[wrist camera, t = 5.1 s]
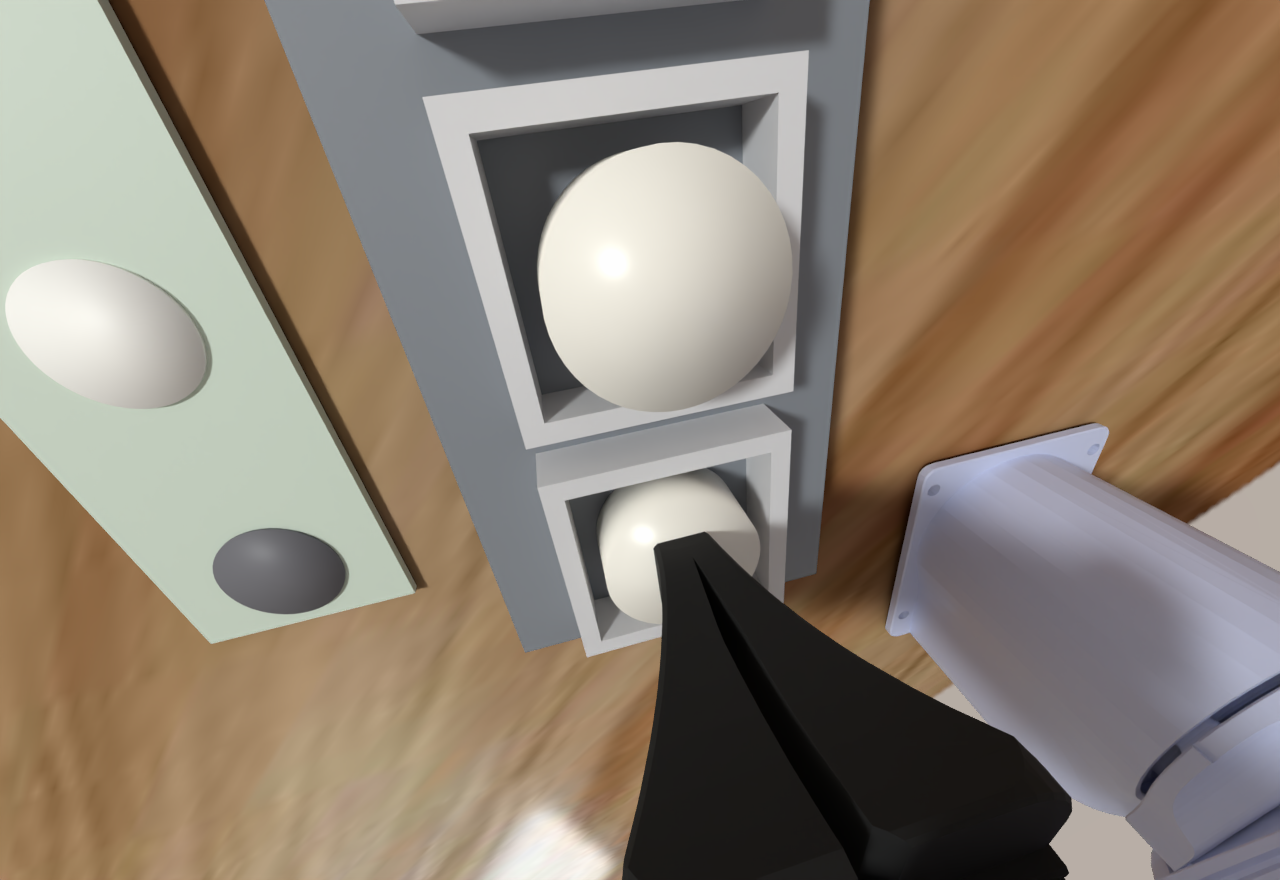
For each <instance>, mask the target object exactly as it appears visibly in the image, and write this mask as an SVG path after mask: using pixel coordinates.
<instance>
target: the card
mask: <svg viewBox="0 0 1280 880" xmlns="http://www.w3.org/2000/svg"><path fill="white" fill-rule="evenodd" d="M0 418H1V419H2V420H3V421H4V422H5V423H6V424H7V425H8V427H9V428H10V429H11V430H12V431H13V432H14V433H15V434H16V435H17V436H18V437H19V438H20V439H21V440H22V442H23V443H24V444H25V445H26V446H27V447H28V448H29V449H30V450H31V451H32V452H33V453H34V454H35V455H36V457H37V458H38V459H39V460H40V461H41V462H42V463H43V464H44V465H45V466H46V467H47V468H48V469H49V471H50V472H51V473H52V474H53V475H54V476H55V477H56V478H57V479H58V480H59V481H60V482H61V483H62V484H63V486H64V487H65V488H66V489H67V490H68V491H69V492H70V493H71V494H72V495H73V496H74V497H75V498H76V499H77V501H78V502H79V503H80V504H81V505H82V506H83V507H84V508H85V509H86V510H87V511H88V512H89V513H90V515H91V516H92V517H93V518H94V519H95V520H96V521H97V522H98V523H99V524H100V525H101V526H102V527H103V528H104V530H105V531H106V532H107V533H108V534H109V535H110V536H111V537H112V538H113V539H114V540H115V541H116V542H117V543H118V545H119V546H120V547H121V548H122V549H123V550H124V551H125V552H126V553H127V554H128V555H129V556H130V557H131V559H132V560H133V561H134V562H135V563H136V564H137V565H138V566H139V567H140V568H141V569H142V570H143V571H144V572H145V574H146V575H147V576H148V577H149V578H150V579H151V580H152V581H153V582H154V583H155V584H156V585H157V586H158V587H159V589H160V590H161V591H162V592H163V593H164V594H165V595H166V596H167V597H168V598H169V599H170V600H171V601H172V603H173V604H174V605H175V606H176V607H177V608H178V609H179V610H180V611H181V612H182V613H183V614H184V615H185V616H186V618H187V619H188V620H189V621H190V622H191V623H192V624H193V625H194V626H195V627H196V628H197V629H198V630H199V632H200V633H201V634H202V635H203V636H204V637H205V638H206V639H207V640H208V641H209V642H210V643H211V644H212V643H216V642H220V641H224V640H228V639H233V638H237V637H241V636H245V635H249V634H253V633H257V632H261V631H265V630H269V629H273V628H277V627H281V626H285V625H289V624H293V623H297V622H301V621H305V620H309V619H313V618H317V617H321V616H325V615H329V614H333V613H337V612H341V611H345V610H349V609H353V608H357V607H361V606H365V605H369V604H373V603H377V602H381V601H385V600H389V599H393V598H397V597H401V596H405V595H409V594H413V593H415V591H416V587H417V585H416V584H415V582H414V580H413V578H412V576H411V574H410V572H409V570H408V568H407V566H406V565H405V563H404V561H403V559H402V557H401V555H400V553H399V551H398V549H397V547H396V546H395V544H394V542H393V540H392V538H391V536H390V534H389V532H388V530H387V528H386V527H385V525H384V523H383V521H382V519H381V517H380V515H379V513H378V511H377V510H376V508H375V506H374V504H373V502H372V500H371V498H370V496H369V494H368V492H367V491H366V489H365V487H364V485H363V483H362V481H361V479H360V477H359V475H358V473H357V472H356V470H355V468H354V466H353V464H352V462H351V460H350V458H349V456H348V455H347V453H346V451H345V449H344V447H343V445H342V443H341V441H340V439H339V437H338V436H337V434H336V432H335V430H334V428H333V426H332V424H331V422H330V420H329V418H328V417H327V415H326V413H325V411H324V409H323V407H322V405H321V403H320V401H319V399H318V398H317V396H316V394H315V392H314V390H313V388H312V386H311V384H310V382H309V381H308V379H307V377H306V375H305V373H304V371H303V369H302V367H301V365H300V363H299V362H298V360H297V358H296V356H295V354H294V352H293V350H292V348H291V346H290V344H289V343H288V341H287V339H286V337H285V335H284V333H283V331H282V329H281V327H280V325H279V324H278V322H277V320H276V318H275V316H274V314H273V312H272V310H271V308H270V307H269V305H268V303H267V301H266V299H265V297H264V295H263V293H262V291H261V289H260V288H259V286H258V284H257V282H256V280H255V278H254V276H253V274H252V272H251V270H250V269H249V267H248V265H247V263H246V261H245V259H244V257H243V255H242V253H241V252H240V250H239V248H238V246H237V244H236V242H235V240H234V238H233V236H232V234H231V233H230V231H229V229H228V227H227V225H226V223H225V221H224V219H223V217H222V215H221V214H220V212H219V210H218V208H217V206H216V204H215V202H214V200H213V198H212V196H211V195H210V193H209V191H208V189H207V187H206V185H205V183H204V181H203V179H202V178H201V176H200V174H199V172H198V170H197V168H196V166H195V164H194V162H193V160H192V159H191V157H190V155H189V153H188V151H187V149H186V147H185V145H184V143H183V141H182V140H181V138H180V136H179V134H178V132H177V130H176V128H175V126H174V124H173V123H172V121H171V119H170V117H169V115H168V113H167V111H166V109H165V107H164V105H163V104H162V102H161V100H160V98H159V96H158V94H157V92H156V90H155V88H154V86H153V85H152V83H151V81H150V79H149V77H148V75H147V73H146V71H145V69H144V67H143V66H142V64H141V62H140V60H139V58H138V56H137V54H136V52H135V50H134V49H133V47H132V45H131V43H130V41H129V39H128V37H127V35H126V33H125V31H124V30H123V28H122V26H121V24H120V22H119V20H118V18H117V16H116V14H115V12H114V11H113V9H112V7H111V5H110V3H109V1H108V0H0Z"/></svg>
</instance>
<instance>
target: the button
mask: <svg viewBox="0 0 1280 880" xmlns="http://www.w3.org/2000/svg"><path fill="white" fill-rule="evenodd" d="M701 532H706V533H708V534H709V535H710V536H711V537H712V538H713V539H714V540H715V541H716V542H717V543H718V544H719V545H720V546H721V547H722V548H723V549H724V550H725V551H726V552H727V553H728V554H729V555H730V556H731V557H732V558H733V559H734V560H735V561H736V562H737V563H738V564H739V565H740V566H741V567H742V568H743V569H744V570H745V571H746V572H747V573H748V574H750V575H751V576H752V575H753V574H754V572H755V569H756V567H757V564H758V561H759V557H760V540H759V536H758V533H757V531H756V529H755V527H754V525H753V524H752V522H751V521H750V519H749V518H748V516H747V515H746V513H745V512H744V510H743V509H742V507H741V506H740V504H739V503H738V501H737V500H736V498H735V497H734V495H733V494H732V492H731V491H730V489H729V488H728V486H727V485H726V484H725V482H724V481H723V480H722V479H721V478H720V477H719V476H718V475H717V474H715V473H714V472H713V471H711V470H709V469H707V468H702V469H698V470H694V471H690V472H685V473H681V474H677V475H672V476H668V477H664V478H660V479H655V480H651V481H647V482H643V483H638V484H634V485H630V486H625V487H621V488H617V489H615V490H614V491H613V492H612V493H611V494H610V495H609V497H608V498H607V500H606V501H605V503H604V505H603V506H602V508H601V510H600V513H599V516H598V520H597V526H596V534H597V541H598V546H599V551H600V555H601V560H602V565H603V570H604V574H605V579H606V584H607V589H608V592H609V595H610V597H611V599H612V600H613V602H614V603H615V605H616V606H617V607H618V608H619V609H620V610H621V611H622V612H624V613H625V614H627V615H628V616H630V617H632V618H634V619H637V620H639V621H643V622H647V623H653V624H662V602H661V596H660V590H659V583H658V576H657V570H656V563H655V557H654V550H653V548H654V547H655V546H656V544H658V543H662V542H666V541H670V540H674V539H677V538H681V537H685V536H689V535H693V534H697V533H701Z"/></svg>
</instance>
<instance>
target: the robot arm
mask: <svg viewBox="0 0 1280 880" xmlns="http://www.w3.org/2000/svg"><path fill="white" fill-rule="evenodd" d="M1108 434H1109V430H1108V428H1107V427H1105V426H1103V425H1101V424H1098V423H1093V424H1089V425H1085V426H1081V427H1077V428H1073V429H1069V430H1065V431H1061V432H1057V433H1052V434H1048V435H1044V436H1040V437H1036V438H1032V439H1028V440H1024V441H1020V442H1016V443H1012V444H1008V445H1004V446H1000V447H996V448H992V449H988V450H984V451H980V452H976V453H972V454H968V455H964V456H960V457H956V458H952V459H948V460H944V461H940V462H936V463H932V464H929V465H927V466H925V467H924V468H923V469H922V470H921V471H920V472H919V475H918V478H917V482H916V487H915V492H914V496H913V501H912V505H911V510H910V515H909V519H908V524H907V529H906V533H905V538H904V542H903V547H902V552H901V556H900V561H899V566H898V570H897V575H896V579H895V584H894V589H893V593H892V598H891V602H890V607H889V612H888V616H887V621H886V626H885V628H886V630H887V631H888V632H889V634H890V635H891V636H900V635H903V634H907V633H911V634H912V636H913V637H914V638H915V639H916V640H917V641H918V643H919V644H920V645H921V646H922V647H923V648H924V650H925V651H926V652H927V653H928V654H929V655H930V657H931V658H932V659H933V660H934V661H935V662H936V664H937V665H938V666H939V667H940V668H941V669H942V671H943V672H944V673H945V674H946V675H947V676H948V678H949V679H950V680H951V681H952V682H953V683H954V685H955V686H956V687H957V688H958V689H959V691H960V692H961V693H962V694H963V695H964V696H965V698H966V699H967V700H968V701H969V702H970V703H971V705H972V706H973V707H974V708H975V709H976V710H977V712H978V713H979V714H980V715H981V716H982V717H983V718H984V720H985V721H986V722H987V723H988V724H989V725H988V724H986V723H984V722H981V721H979V720H977V719H975V718H973V717H970V716H968V715H966V714H964V713H962V712H959V711H957V710H955V709H953V708H951V707H949V706H947V705H945V704H943V703H941V702H939V701H937V700H935V699H933V698H931V697H929V696H928V695H926V694H924V693H922V692H920V691H918V690H916V689H914V688H912V687H910V686H909V685H907V684H905V683H903V682H902V681H900V680H898V679H896V678H895V677H893V676H891V675H889V674H888V673H886V672H884V671H882V670H881V669H879V668H877V667H875V666H874V665H872V664H870V663H868V662H867V661H865V660H863V659H862V658H860V657H858V656H857V655H855V654H854V653H852V652H851V651H849V650H848V649H846V648H844V647H843V646H841V645H840V644H838V643H837V642H835V641H834V640H832V639H831V638H829V637H828V636H826V635H825V634H824V633H822V632H821V631H819V630H818V629H816V628H815V627H814V626H812V625H811V624H809V623H808V622H807V621H805V620H804V619H803V618H801V617H800V616H799V615H797V614H796V613H795V612H794V611H792V610H791V609H790V608H789V607H787V606H786V605H785V604H783V603H782V602H781V601H780V600H779V599H777V598H776V597H775V596H774V595H773V594H771V593H770V592H769V591H768V590H767V589H766V588H764V587H763V586H762V585H761V584H760V583H759V582H758V581H756V580H755V579H754V578H753V577H752V576H751V575H750V574H748V573H747V572H746V571H745V570H744V569H743V568H742V567H741V566H740V565H739V564H738V563H737V562H736V561H735V560H734V559H733V558H732V557H731V556H730V555H729V554H728V553H727V552H726V551H725V550H724V549H723V548H722V547H721V546H720V545H719V544H718V543H717V542H716V541H715V540H714V539H713V538H712V537H711V536H710V535H709V534H708V533H706V532H701V533H697V534H693V535H689V536H685V537H681V538H677V539H674V540H670V541H666V542H662V543H658V544H656V546H655V547H654V548H653V550H654V557H655V563H656V570H657V576H658V583H659V590H660V596H661V602H662V642H661V660H660V672H659V682H658V691H657V699H656V706H655V714H654V721H653V727H652V734H651V740H650V745H649V751H648V756H647V761H646V766H645V771H644V776H643V781H642V786H641V791H640V796H639V800H638V805H637V809H636V813H635V817H634V821H633V825H632V829H631V833H630V837H629V841H628V845H627V849H626V853H625V858H624V864H623V876H622V880H1065V878H1064V877H1066V876H1067V875H1068V874H1069V872H1068V869H1067V867H1066V865H1065V864H1064V863H1063V861H1062V860H1061V859H1060V858H1059V856H1058V855H1057V854H1056V852H1055V851H1054V850H1053V849H1052V847H1051V846H1050V845H1049V843H1050V842H1051V840H1052V839H1053V838H1054V837H1055V835H1056V834H1057V832H1058V831H1059V830H1060V829H1061V827H1062V826H1063V825H1064V823H1065V822H1066V821H1067V819H1068V818H1069V816H1070V814H1071V812H1072V802H1071V798H1073V799H1074V800H1076V801H1078V802H1080V803H1082V804H1084V805H1086V806H1089V807H1091V808H1094V809H1096V810H1099V811H1102V812H1105V813H1109V814H1113V815H1118V816H1123V817H1125V818H1126V821H1127V822H1128V823H1129V824H1130V825H1131V826H1132V827H1133V828H1134V829H1135V830H1136V831H1137V832H1138V833H1139V834H1140V836H1141V837H1142V838H1143V839H1144V840H1145V841H1146V842H1147V843H1148V844H1149V845H1150V846H1151V847H1152V848H1153V850H1152V852H1151V867H1152V871H1153V875H1154V879H1155V880H1280V572H1279V571H1277V570H1275V569H1273V568H1271V567H1269V566H1267V565H1265V564H1263V563H1261V562H1259V561H1257V560H1256V559H1254V558H1252V557H1250V556H1248V555H1246V554H1244V553H1242V552H1240V551H1238V550H1236V549H1234V548H1233V547H1230V546H1229V545H1227V544H1225V543H1223V542H1221V541H1219V540H1217V539H1215V538H1213V537H1211V536H1209V535H1207V534H1205V533H1204V532H1202V531H1199V530H1198V529H1196V528H1194V527H1192V526H1190V525H1188V524H1186V523H1184V522H1182V521H1181V520H1179V519H1177V518H1175V517H1173V516H1171V515H1169V514H1167V513H1165V512H1163V511H1161V510H1159V509H1157V508H1156V507H1154V506H1152V505H1150V504H1148V503H1146V502H1144V501H1142V500H1140V499H1138V498H1136V497H1134V496H1132V495H1130V494H1129V493H1127V492H1125V491H1123V490H1121V489H1119V488H1117V487H1115V486H1113V485H1111V484H1109V483H1107V482H1105V481H1104V480H1102V479H1100V478H1098V477H1096V476H1094V475H1092V474H1091V473H1092V471H1093V469H1094V467H1095V464H1096V462H1097V460H1098V458H1099V455H1100V453H1101V451H1102V449H1103V446H1104V444H1105V442H1106V440H1107V437H1108Z"/></svg>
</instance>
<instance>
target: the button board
mask: <svg viewBox="0 0 1280 880" xmlns="http://www.w3.org/2000/svg"><path fill="white" fill-rule="evenodd" d="M264 1H265V3H266V6H267V8H268V11H269V13H270V16H271V18H272V21H273V23H274V26H275V28H276V31H277V33H278V36H279V38H280V41H281V43H282V46H283V48H284V51H285V53H286V56H287V58H288V61H289V63H290V66H291V68H292V71H293V73H294V76H295V78H296V81H297V83H298V86H299V88H300V91H301V93H302V96H303V98H304V101H305V103H306V106H307V108H308V111H309V113H310V116H311V118H312V121H313V123H314V126H315V128H316V131H317V133H318V136H319V138H320V141H321V143H322V146H323V148H324V151H325V153H326V156H327V158H328V161H329V163H330V166H331V168H332V171H333V173H334V176H335V178H336V181H337V183H338V186H339V188H340V191H341V193H342V196H343V198H344V201H345V203H346V206H347V208H348V211H349V213H350V216H351V218H352V221H353V223H354V226H355V228H356V231H357V233H358V236H359V238H360V241H361V243H362V246H363V248H364V251H365V253H366V256H367V258H368V261H369V263H370V266H371V268H372V271H373V273H374V276H375V278H376V281H377V283H378V286H379V288H380V291H381V293H382V296H383V298H384V301H385V303H386V306H387V308H388V311H389V313H390V316H391V318H392V321H393V323H394V326H395V328H396V331H397V333H398V336H399V338H400V341H401V343H402V346H403V348H404V351H405V353H406V356H407V358H408V361H409V363H410V366H411V368H412V371H413V373H414V376H415V378H416V381H417V383H418V386H419V388H420V391H421V393H422V396H423V398H424V401H425V403H426V406H427V408H428V411H429V413H430V416H431V418H432V421H433V423H434V426H435V428H436V431H437V433H438V436H439V438H440V441H441V443H442V446H443V448H444V451H445V453H446V456H447V458H448V461H449V463H450V466H451V468H452V471H453V473H454V476H455V478H456V481H457V483H458V486H459V488H460V491H461V493H462V496H463V498H464V501H465V503H466V506H467V508H468V511H469V513H470V516H471V518H472V521H473V523H474V526H475V528H476V531H477V533H478V536H479V538H480V541H481V543H482V546H483V548H484V551H485V553H486V556H487V558H488V561H489V563H490V566H491V568H492V571H493V573H494V576H495V578H496V581H497V583H498V586H499V588H500V591H501V593H502V596H503V598H504V601H505V603H506V606H507V608H508V611H509V613H510V616H511V618H512V621H513V623H514V626H515V628H516V631H517V633H518V636H519V638H520V641H521V643H522V646H523V648H524V651H525V653H526V652H530V651H533V650H537V649H541V648H544V647H548V646H552V645H555V644H559V643H563V642H566V641H570V640H574V639H577V638H582V642H583V645H584V648H585V652H586V655H587V657H590V656H593V655H597V654H600V653H604V652H608V651H611V650H615V649H618V648H622V647H626V646H629V645H633V644H636V643H640V642H644V641H647V640H651V639H654V638H658V637H662V624H653V623H647V622H643V621H639V620H637V619H634V618H632V617H630V616H628V615H627V614H625V613H624V612H622V611H621V610H620V609H619V608H618V607H617V606H616V605H615V603H614V602H613V600H612V599H611V597H610V595H609V592H608V589H607V584H606V579H605V574H604V570H603V565H602V560H601V555H600V551H599V546H598V541H597V534H596V526H597V520H598V516H599V513H600V510H601V508H602V506H603V505H604V503H605V501H606V500H607V498H608V497H609V495H610V494H611V493H612V492H613V491H614V490H615V489H617V488H621V487H625V486H630V485H634V484H638V483H643V482H647V481H651V480H655V479H660V478H664V477H668V476H672V475H677V474H681V473H685V472H690V471H694V470H698V469H702V468H707V469H709V470H711V471H713V472H714V473H715V474H717V475H718V476H719V477H720V478H721V479H722V480H723V481H724V482H725V484H726V485H727V486H728V488H729V489H730V491H731V492H732V494H733V495H734V497H735V498H736V500H737V501H738V503H739V504H740V506H741V507H742V509H743V510H744V512H745V513H746V515H747V516H748V518H749V519H750V521H751V522H752V524H753V525H754V527H755V529H756V531H757V533H758V536H759V540H760V557H759V561H758V564H757V567H756V569H755V572H754V574H753V575H752V577H753V578H754V579H755V580H756V581H758V582H759V583H760V584H761V585H762V586H763V587H764V588H766V589H767V590H768V591H769V592H770V593H771V594H773V595H774V596H775V597H776V598H777V599H779V600H780V601H781V602H782V603H784V585H785V582H787V581H791V580H794V579H798V578H802V577H805V576H809V575H813V574H816V570H817V560H818V549H819V538H820V527H821V517H822V506H823V495H824V484H825V474H826V463H827V452H828V442H829V431H830V420H831V409H832V399H833V388H834V377H835V367H836V356H837V345H838V334H839V324H840V313H841V302H842V292H843V281H844V270H845V259H846V249H847V238H848V227H849V216H850V206H851V195H852V184H853V174H854V163H855V152H856V141H857V131H858V120H859V109H860V99H861V88H862V77H863V66H864V56H865V45H866V34H867V23H868V13H869V2H870V0H264ZM670 142H683V143H693V144H699V145H703V146H706V147H710V148H714V149H716V150H718V151H721V152H723V153H725V154H727V155H729V156H731V157H733V158H734V159H736V160H737V161H739V162H740V163H742V164H743V165H745V166H746V167H747V168H748V169H749V170H751V171H752V172H753V173H754V174H755V175H756V176H757V177H758V178H759V179H760V180H761V181H762V183H763V184H764V185H765V186H766V188H767V189H768V190H769V191H770V193H771V195H772V196H773V198H774V200H775V201H776V203H777V205H778V206H779V209H780V211H781V214H782V216H783V218H784V221H785V223H786V227H787V231H788V234H789V238H790V244H791V251H792V283H791V291H790V296H789V301H788V305H787V309H786V312H785V315H784V318H783V321H782V323H781V325H780V328H779V330H778V332H777V334H776V336H775V338H774V340H773V341H772V343H771V345H770V346H769V348H768V350H767V351H766V353H765V354H764V355H763V357H762V358H761V359H760V361H759V362H758V363H757V364H756V365H755V366H754V368H753V369H752V370H751V371H750V372H749V373H748V374H747V375H746V376H745V377H744V378H742V379H741V380H740V381H739V382H738V383H737V384H735V385H734V386H733V387H731V388H730V389H728V390H727V391H725V392H724V393H722V394H721V395H719V396H717V397H715V398H713V399H711V400H709V401H707V402H704V403H702V404H699V405H697V406H694V407H690V408H686V409H683V410H676V411H670V412H646V411H638V410H633V409H628V408H624V407H622V406H619V405H616V404H613V403H611V402H609V401H607V400H605V399H603V398H601V397H599V396H598V395H596V394H595V393H593V392H592V391H591V390H589V389H588V388H586V387H585V386H584V385H583V384H582V383H581V382H580V381H579V380H578V379H576V378H575V377H574V375H573V374H572V373H571V372H570V371H569V369H568V368H567V367H566V366H565V365H564V363H563V361H562V360H561V358H560V357H559V355H558V353H557V352H556V350H555V348H554V346H553V343H552V341H551V339H550V337H549V334H548V331H547V327H546V324H545V321H544V316H543V310H542V304H541V298H540V292H539V285H538V279H537V257H538V247H539V242H540V238H541V234H542V230H543V227H544V225H545V222H546V219H547V217H548V215H549V213H550V211H551V209H552V207H553V205H554V203H555V202H556V200H557V199H558V197H559V196H560V195H561V193H562V192H563V190H564V189H565V188H566V187H567V186H568V185H569V184H570V183H571V182H572V181H573V179H574V178H575V177H577V176H578V175H579V174H580V173H582V172H583V171H584V170H585V169H587V168H588V167H590V166H591V165H593V164H595V163H596V162H598V161H600V160H602V159H604V158H607V157H609V156H612V155H614V154H617V153H621V152H624V151H628V150H632V149H636V148H640V147H644V146H649V145H653V144H658V143H670Z"/></svg>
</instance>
